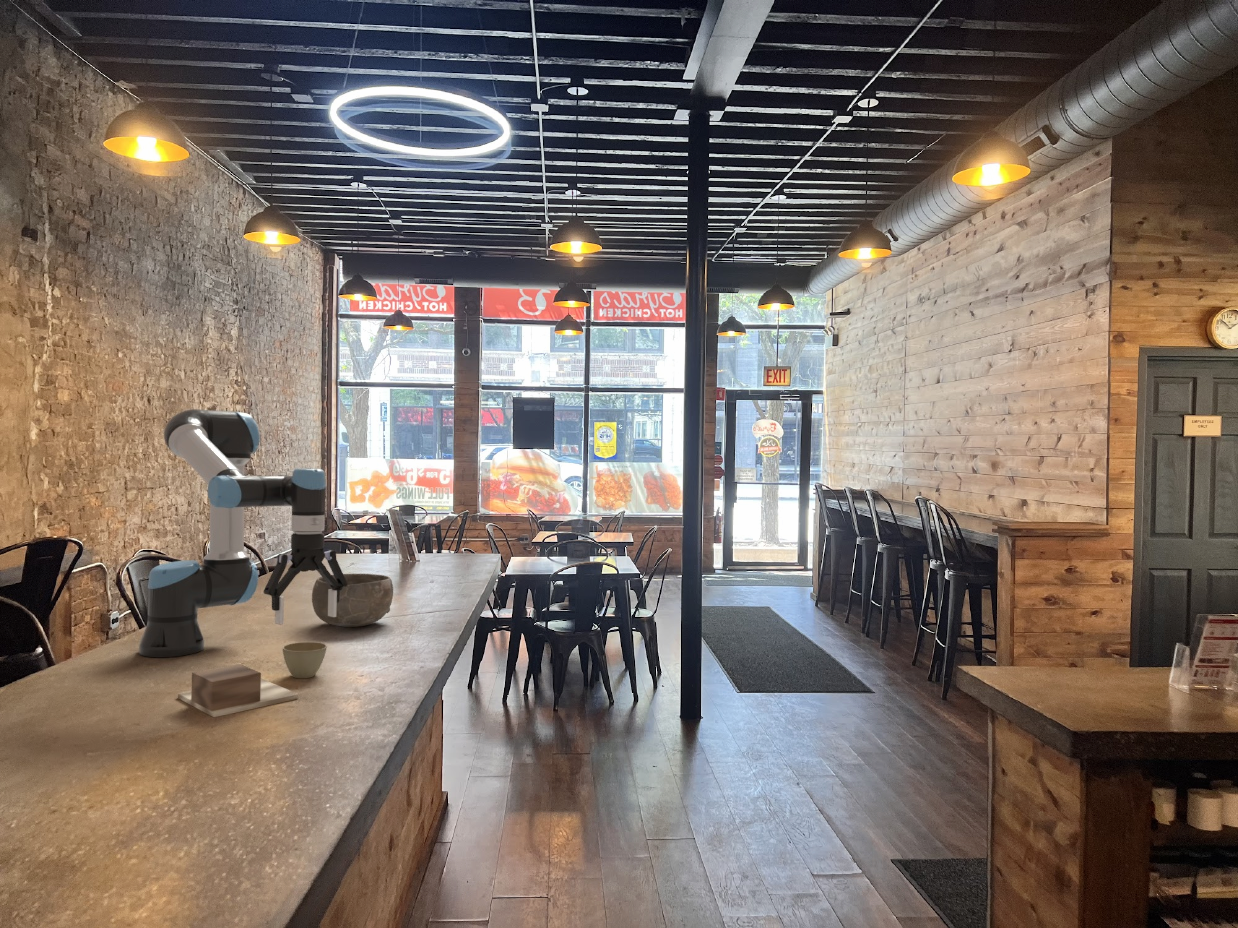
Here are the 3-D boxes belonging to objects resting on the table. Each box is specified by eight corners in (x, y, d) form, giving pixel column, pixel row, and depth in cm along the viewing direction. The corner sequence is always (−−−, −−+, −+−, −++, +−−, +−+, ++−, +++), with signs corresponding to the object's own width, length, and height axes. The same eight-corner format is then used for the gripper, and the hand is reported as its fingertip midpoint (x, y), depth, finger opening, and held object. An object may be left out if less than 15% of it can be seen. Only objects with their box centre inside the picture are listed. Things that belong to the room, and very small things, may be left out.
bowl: (409, 624, 255) (410, 577, 255) (346, 638, 234) (347, 586, 234) (358, 614, 268) (359, 569, 267) (294, 626, 247) (295, 577, 247)
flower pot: (310, 682, 189) (311, 652, 189) (272, 679, 191) (273, 649, 191) (334, 671, 198) (334, 643, 198) (297, 668, 200) (298, 640, 200)
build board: (177, 697, 174) (177, 693, 174) (259, 681, 188) (259, 677, 188) (213, 717, 163) (213, 712, 163) (298, 698, 177) (298, 693, 177)
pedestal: (191, 700, 170) (192, 672, 170) (238, 690, 178) (239, 663, 177) (211, 711, 163) (212, 681, 163) (260, 700, 171) (260, 672, 171)
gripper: (264, 536, 182) (262, 629, 182) (362, 530, 201) (360, 615, 201) (249, 534, 187) (247, 624, 187) (346, 528, 206) (344, 611, 206)
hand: (306, 620), depth 194 cm, fingers open, 13 cm apart
